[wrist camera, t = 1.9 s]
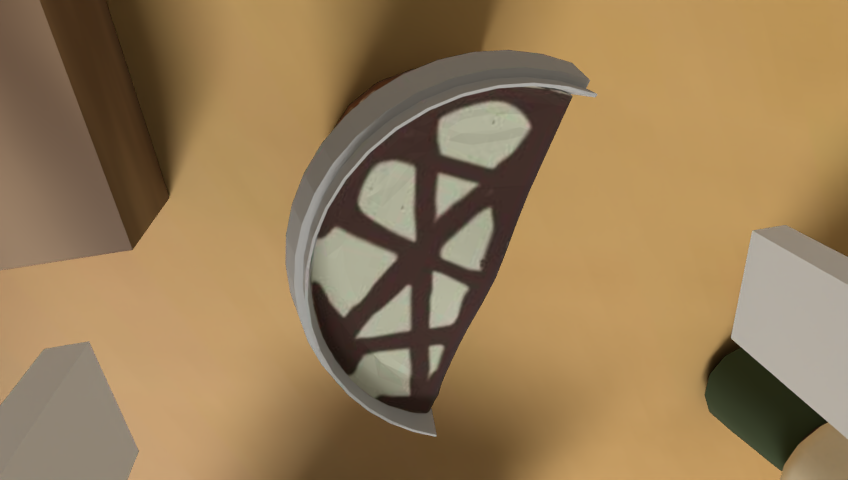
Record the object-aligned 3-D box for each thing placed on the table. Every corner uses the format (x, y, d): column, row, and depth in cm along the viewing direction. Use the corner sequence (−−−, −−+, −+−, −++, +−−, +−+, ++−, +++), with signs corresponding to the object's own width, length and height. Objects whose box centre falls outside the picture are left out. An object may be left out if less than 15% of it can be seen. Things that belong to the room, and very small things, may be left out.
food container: (343, -20, 20) (366, -29, 11) (488, 39, 22) (608, 72, 13) (263, 262, 24) (233, 422, 15) (391, 292, 26) (430, 449, 17)
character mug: (726, 449, 36) (922, 668, 24) (650, 423, 33) (827, 653, 22) (839, 321, 33) (1127, 504, 21) (764, 282, 30) (1044, 464, 19)
